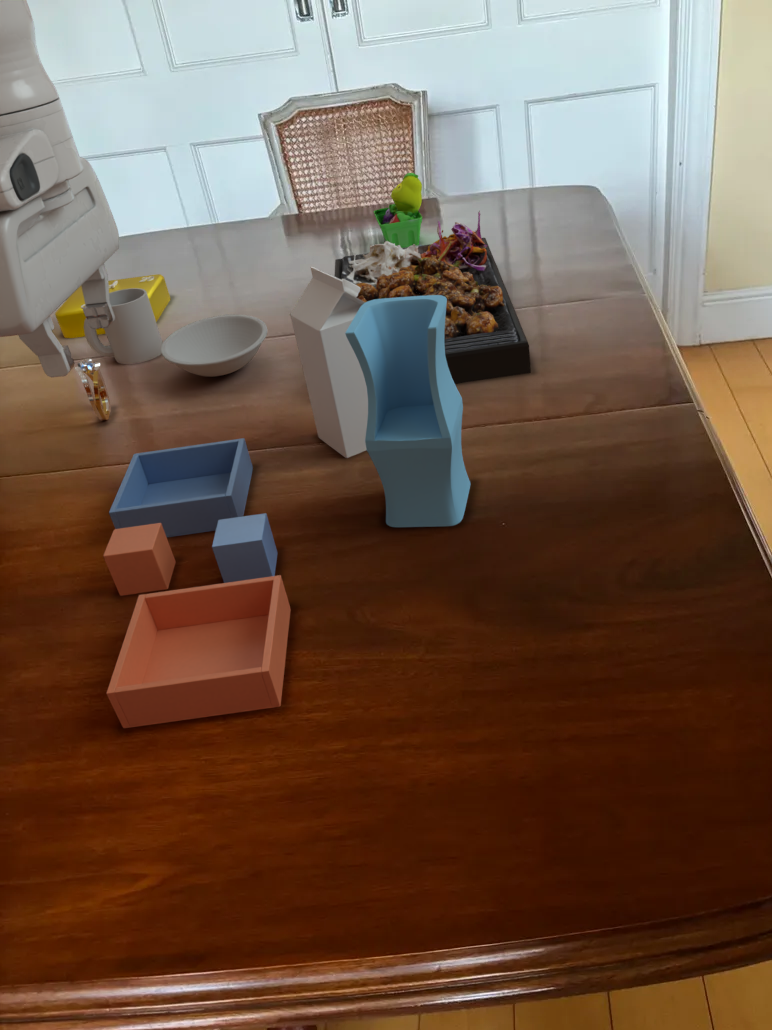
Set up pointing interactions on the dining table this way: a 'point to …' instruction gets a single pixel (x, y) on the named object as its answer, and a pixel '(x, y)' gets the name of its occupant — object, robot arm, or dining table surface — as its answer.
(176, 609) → the terracotta tray
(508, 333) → the food platter
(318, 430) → the milk carton
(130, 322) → the cup
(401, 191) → the fruit basket
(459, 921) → the dining table surface
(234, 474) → the blue-grey tray
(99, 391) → the ring
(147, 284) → the element tile
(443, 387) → the blue wingback chair
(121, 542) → the terracotta block
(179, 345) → the dish
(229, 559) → the blue-grey block
